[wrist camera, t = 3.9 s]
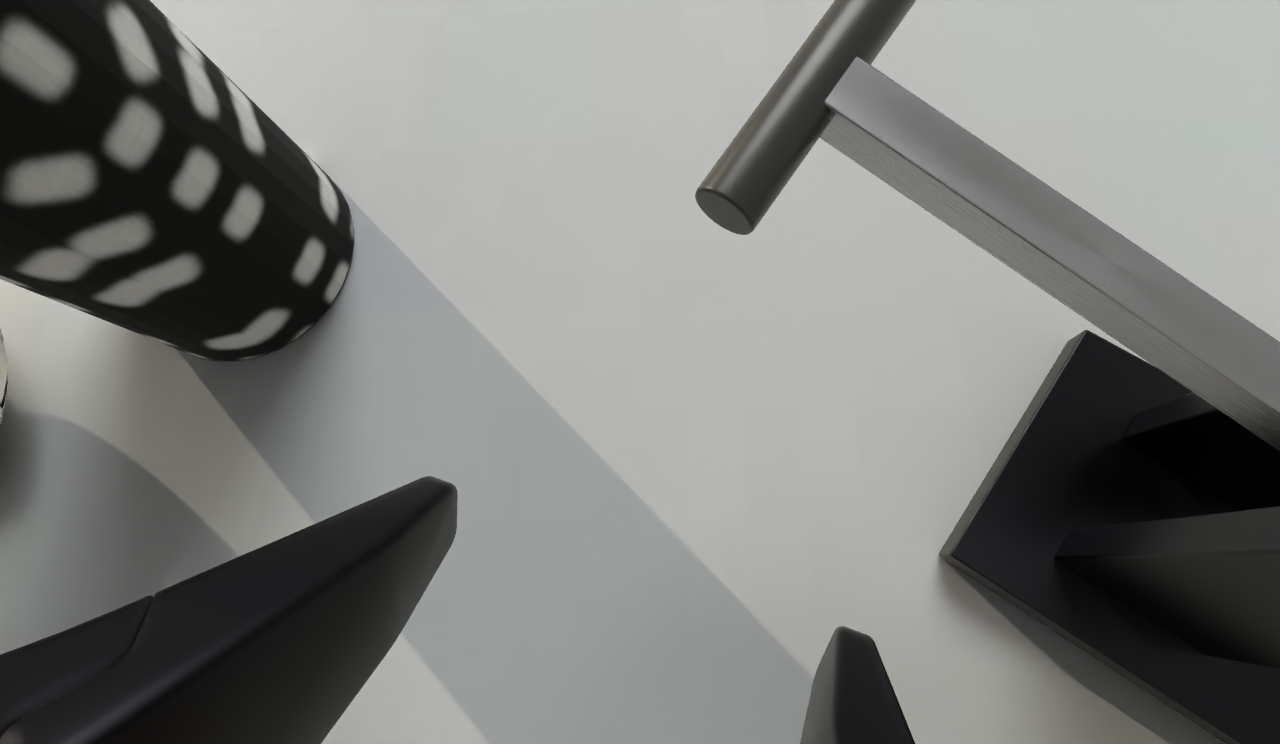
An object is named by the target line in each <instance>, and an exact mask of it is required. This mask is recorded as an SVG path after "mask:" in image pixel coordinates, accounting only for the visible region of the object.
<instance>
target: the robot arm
mask: <svg viewBox="0 0 1280 744" xmlns="http://www.w3.org/2000/svg"><path fill="white" fill-rule="evenodd" d="M456 528H457V489H456V487H455V486H454V485H453V484H451V483H448V482H446V481H443V480H440V479H437V478H435V477H431V476H428V477H423V478H421V479H418V480H416V481H414V482H411V483H409V484H407V485H404V486H402V487H400V488H397V489H395V490H393V491H390V492H388V493H386V494H383V495H381V496H379V497H377V498H374V499H372V500H370V501H367V502H365V503H363V504H360V505H358V506H356V507H353V508H351V509H349V510H346V511H344V512H342V513H339V514H337V515H335V516H332V517H330V518H328V519H326V520H323V521H321V522H319V523H316V524H314V525H312V526H309V527H307V528H305V529H302V530H300V531H298V532H295V533H293V534H291V535H288V536H286V537H284V538H281V539H279V540H277V541H275V542H272V543H270V544H268V545H265V546H263V547H261V548H258V549H256V550H254V551H251V552H249V553H247V554H244V555H242V556H240V557H237V558H235V559H233V560H231V561H228V562H226V563H224V564H221V565H219V566H217V567H214V568H212V569H210V570H207V571H205V572H203V573H200V574H198V575H196V576H193V577H191V578H189V579H186V580H184V581H182V582H180V583H177V584H175V585H173V586H170V587H168V588H166V589H163V590H161V591H159V592H157V593H156V594H155V596H154V597H153V596H147V597H144V598H142V599H140V600H137V601H135V602H133V603H130V604H128V605H126V606H123V607H121V608H119V609H116V610H114V611H112V612H109V613H107V614H104V615H102V616H99V617H97V618H95V619H92V620H90V621H87V622H85V623H82V624H80V625H78V626H75V627H73V628H70V629H68V630H65V631H63V632H60V633H58V634H55V635H52V636H50V637H47V638H44V639H42V640H39V641H36V642H34V643H31V644H28V645H25V646H23V647H20V648H17V649H15V650H12V651H9V652H7V653H4V654H1V655H0V744H321V743H322V741H323V740H324V738H325V737H326V736H327V734H328V733H329V732H330V730H331V729H332V728H333V726H334V725H335V723H336V722H337V721H338V719H339V718H340V717H341V715H342V714H343V713H344V711H345V710H346V709H347V707H348V706H349V704H350V703H351V702H352V700H353V699H354V698H355V696H356V695H357V694H358V692H359V691H360V689H361V688H362V687H363V685H364V684H365V683H366V681H367V680H368V679H369V677H370V676H371V674H372V673H373V672H374V670H375V669H376V668H377V666H378V665H379V664H380V662H381V661H382V659H383V658H384V657H385V655H386V654H387V652H388V651H389V649H390V648H391V647H392V645H393V644H394V642H395V641H396V639H397V637H398V636H399V634H400V633H401V631H402V629H403V628H404V626H405V624H406V623H407V621H408V619H409V617H410V616H411V614H412V612H413V610H414V609H415V607H416V605H417V604H418V602H419V600H420V598H421V597H422V595H423V593H424V592H425V590H426V588H427V586H428V585H429V583H430V581H431V579H432V578H433V576H434V574H435V573H436V571H437V569H438V567H439V566H440V564H441V562H442V560H443V559H444V557H445V555H446V554H447V552H448V550H449V548H450V547H451V545H452V542H453V540H454V537H455V534H456ZM800 744H915V742H914V740H913V737H912V735H911V732H910V730H909V727H908V725H907V722H906V720H905V717H904V715H903V712H902V710H901V707H900V705H899V702H898V700H897V697H896V695H895V692H894V690H893V687H892V685H891V682H890V680H889V677H888V675H887V672H886V670H885V667H884V665H883V662H882V660H881V657H880V655H879V652H878V650H877V647H876V645H875V643H874V641H873V639H872V638H871V637H870V636H868V635H866V634H863V633H860V632H858V631H855V630H852V629H849V628H847V627H844V626H841V627H838V628H837V629H836V630H835V631H834V633H833V635H832V638H831V640H830V642H829V644H828V646H827V648H826V651H825V653H824V655H823V657H822V659H821V662H820V664H819V666H818V669H817V671H816V674H815V678H814V682H813V686H812V691H811V695H810V700H809V705H808V709H807V714H806V719H805V724H804V728H803V733H802V738H801V743H800Z"/></svg>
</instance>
